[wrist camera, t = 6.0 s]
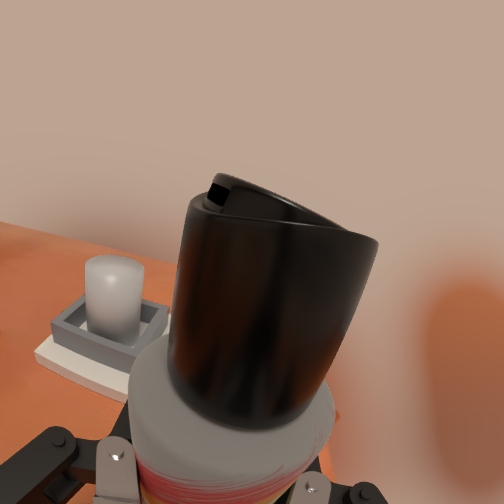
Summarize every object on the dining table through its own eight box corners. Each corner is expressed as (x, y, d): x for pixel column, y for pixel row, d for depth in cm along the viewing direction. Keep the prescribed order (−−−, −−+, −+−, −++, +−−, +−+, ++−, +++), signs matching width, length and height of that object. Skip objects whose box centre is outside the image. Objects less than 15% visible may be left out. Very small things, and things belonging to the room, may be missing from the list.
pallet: (36, 362, 18) (21, 276, 16) (99, 301, 33) (101, 235, 30) (286, 438, 20) (328, 363, 17) (276, 348, 34) (298, 283, 32)
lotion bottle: (142, 487, 12) (147, 157, 7) (219, 483, 14) (323, 197, 9) (159, 554, 7) (127, 160, 2) (245, 543, 9) (477, 256, 4)
